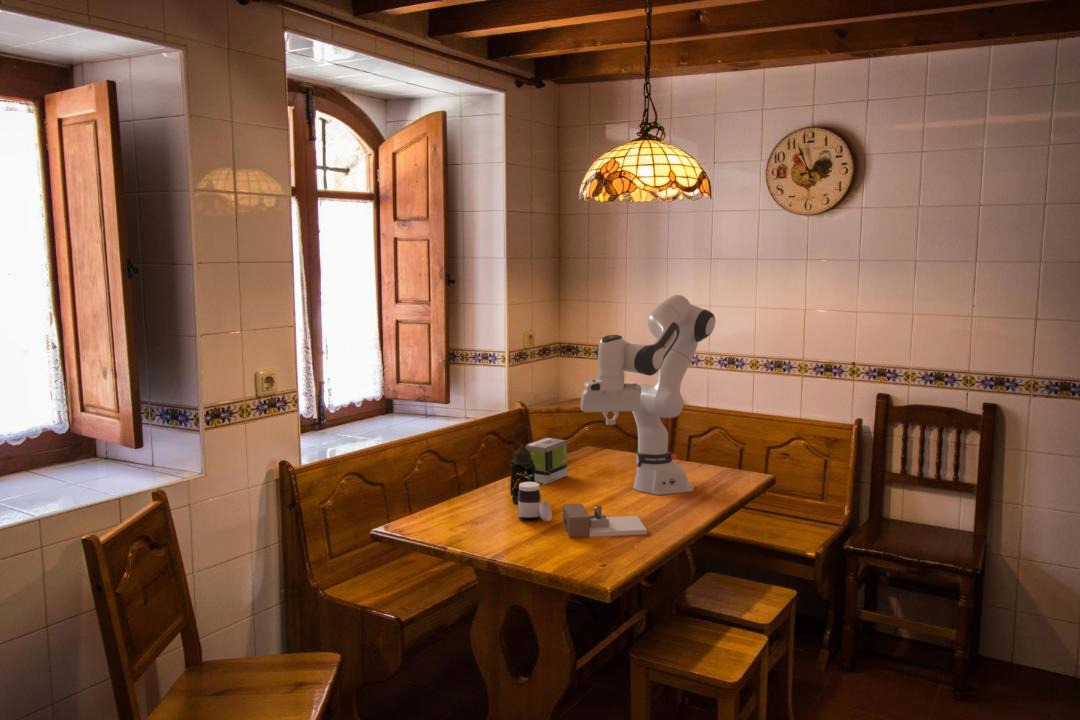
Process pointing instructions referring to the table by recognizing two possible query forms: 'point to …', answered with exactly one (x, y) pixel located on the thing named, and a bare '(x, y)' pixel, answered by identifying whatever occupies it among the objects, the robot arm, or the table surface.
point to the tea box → (548, 459)
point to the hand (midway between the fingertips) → (610, 424)
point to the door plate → (598, 523)
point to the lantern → (521, 469)
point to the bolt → (597, 512)
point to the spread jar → (532, 503)
